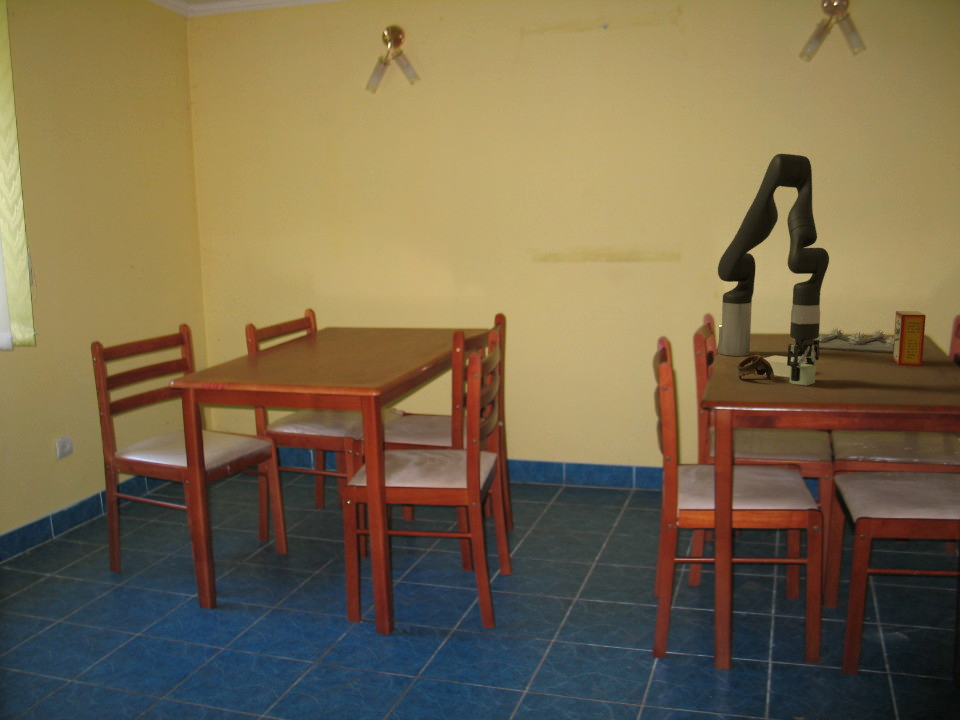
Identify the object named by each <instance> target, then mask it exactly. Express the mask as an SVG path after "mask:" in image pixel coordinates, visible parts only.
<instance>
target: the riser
mask: <svg viewBox="0 0 960 720" xmlns="http://www.w3.org/2000/svg"><path fill="white" fill-rule="evenodd" d="M763 358H764V359H766V360H767V361H768V362H769V363H770V365H771V367H772V369H773V373H774V376H777V377H783V378H790V366H788V365H787V358H788V356H782V355H771V356H768V357H763ZM791 361H792V358H791ZM806 363H807V362H806V361H805V360H804V361H803V362H802V363H801V364H806ZM764 375H766V373H765V374H764Z"/></svg>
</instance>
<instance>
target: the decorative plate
mask: <svg viewBox="0 0 960 720" xmlns="http://www.w3.org/2000/svg"><path fill="white" fill-rule="evenodd" d="M842 331H843V330H842V329H841V328H840V329H839V328H838V327H836V328H834V327H833V328H832V329H831V330H830V331H829V333H828V335H823V333H822V334H819V337H818V338H817V339H819V348H820V349H819V350H827V349H836V350H835V351H844V350H853V351H852V352H862V351H870V352H869V353H879V352H887V353H886V354H893V347H894V337H893V336H891V335H890V336H888V338H885V336H886V333H885V334H884V332H883V331H881V330H875V331H874V332H873V333H872V336H871V337H866V334H865V333H864V332H863V333H862V334H861V331H858V332H856V333H855V332H852V333H851V334H849V336H844V332H842ZM888 352H889V353H888Z"/></svg>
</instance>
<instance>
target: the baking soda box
mask: <svg viewBox="0 0 960 720" xmlns="http://www.w3.org/2000/svg"><path fill="white" fill-rule="evenodd" d="M926 316H927V315H926V314H925V313H923V312H921V311H917V310H914V311H913V310H911V311H910V310H896V311H895V319H894V321H895V322H894V333H893V334H894V335H893V338H894V347H893V353H892V361H893V362H894V363H895V364H896V365H897V364H898V365H897V366H899V365H902V366H904V365H905V366H904V367H906V366H907V367H910V366H911V367H923V357H924V341H925V331H926V329H925V328H926V318H927V317H926ZM902 366H901V367H902Z"/></svg>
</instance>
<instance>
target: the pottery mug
mask: <svg viewBox="0 0 960 720" xmlns="http://www.w3.org/2000/svg"><path fill="white" fill-rule="evenodd" d="M764 358H765V357H763V356H761V355H760V354H754V355H753V354H752V355H749V356H747V357H746V358H744V359H742V360H741V361H740V362H739V363H738V365H737V366H736V368H737V370H738V373H737V377H738V378H739V380H742V377H745V376H749V375H752V374H753V375H757V376H764V375H765V376H766V379H767V380H768V379H769V380H770V379H771V383H774V382H775V381H776V377H775V375H774V373H773V369H772V367H771V365H770V363H769V362H768V361H767V360H766V359H764ZM765 373H766V374H765Z"/></svg>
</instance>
